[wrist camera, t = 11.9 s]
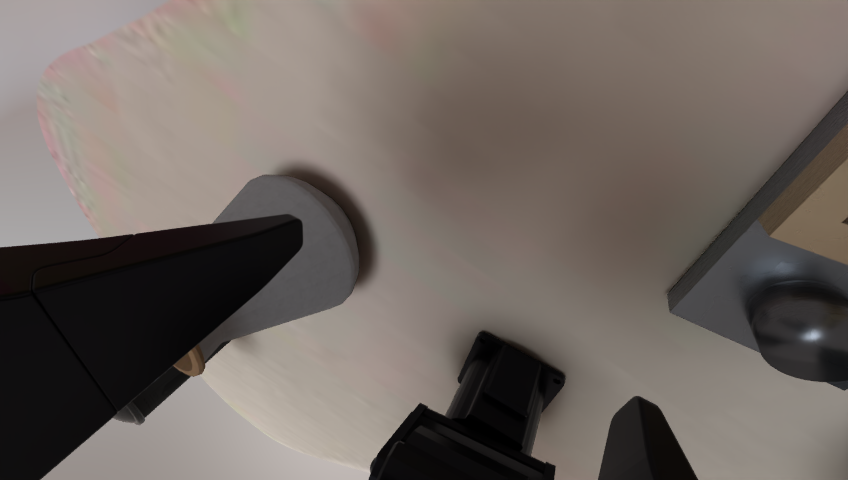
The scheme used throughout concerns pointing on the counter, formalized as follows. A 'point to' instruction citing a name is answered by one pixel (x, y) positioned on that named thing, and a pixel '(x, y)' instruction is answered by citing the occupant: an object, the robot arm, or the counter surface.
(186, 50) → the counter surface
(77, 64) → the counter surface
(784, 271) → the knobbed window plate
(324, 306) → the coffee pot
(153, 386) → the drinking cup
